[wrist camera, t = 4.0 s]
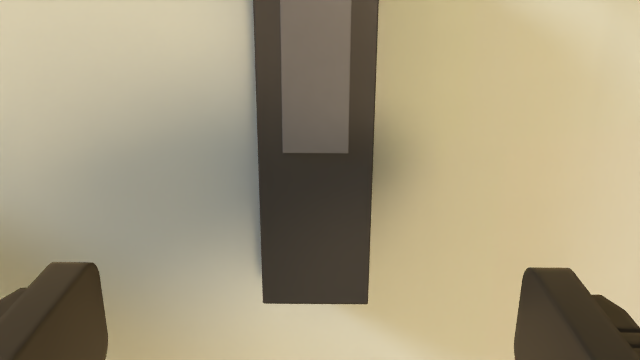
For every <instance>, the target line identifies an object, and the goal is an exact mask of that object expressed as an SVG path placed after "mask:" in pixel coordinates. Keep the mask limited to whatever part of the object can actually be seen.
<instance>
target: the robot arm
mask: <svg viewBox="0 0 640 360" xmlns="http://www.w3.org/2000/svg"><path fill="white" fill-rule="evenodd" d="M107 347H108V333H107V325H106V318H105V311H104V304H103V297H102V289H101V282H100V276H99V271H98V268H97V266H96V265H95V264H94V263H87V262H52V263H50V264H49V265H48V266H47V267H46V268H45V269H44V270H43V271H42V272H41V274H40V275H39V276H38V277H37V278H36V279H35V280H34V281H33V282H32V283H31V285H30V286H29V287H28V288H20V289H18V290H17V291H15V292H13V293H11V294H10V295H8V296H6V297H4V298H3V299H1V300H0V360H105V359H106V354H107ZM514 354H515V360H640V328H639V326H638V325H637V324H636V323H635V322H634V320H633V319H632V318H631V317H630V316H629V314H628V313H627V312H626V311H625V310H624V309H622V308H620V307H619V306H617V305H616V304H614V303H613V302H611V301H610V300H608V299H606V298H605V297H603V296H602V295H591V294H590V293H589V291H588V290H587V289H586V287H585V286H584V285H583V284H582V282H581V281H580V280H579V278H578V277H577V276H576V274H575V273H574V272H573V271H572V270H571V269H570V268H527V269H526V271H525V272H524V275H523V280H522V286H521V294H520V301H519V309H518V316H517V324H516V331H515V340H514Z"/></svg>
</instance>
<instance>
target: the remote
mask: <svg viewBox="0 0 640 360" xmlns="http://www.w3.org/2000/svg"><path fill="white" fill-rule="evenodd" d="M378 4H379V0H253V10H254V40H255V71H256V102H257V133H258V164H259V195H260V225H261V256H262V287H263V303H275V304H368V284H369V256H370V228H371V200H372V172H373V144H374V116H375V88H376V60H377V32H378Z"/></svg>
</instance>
